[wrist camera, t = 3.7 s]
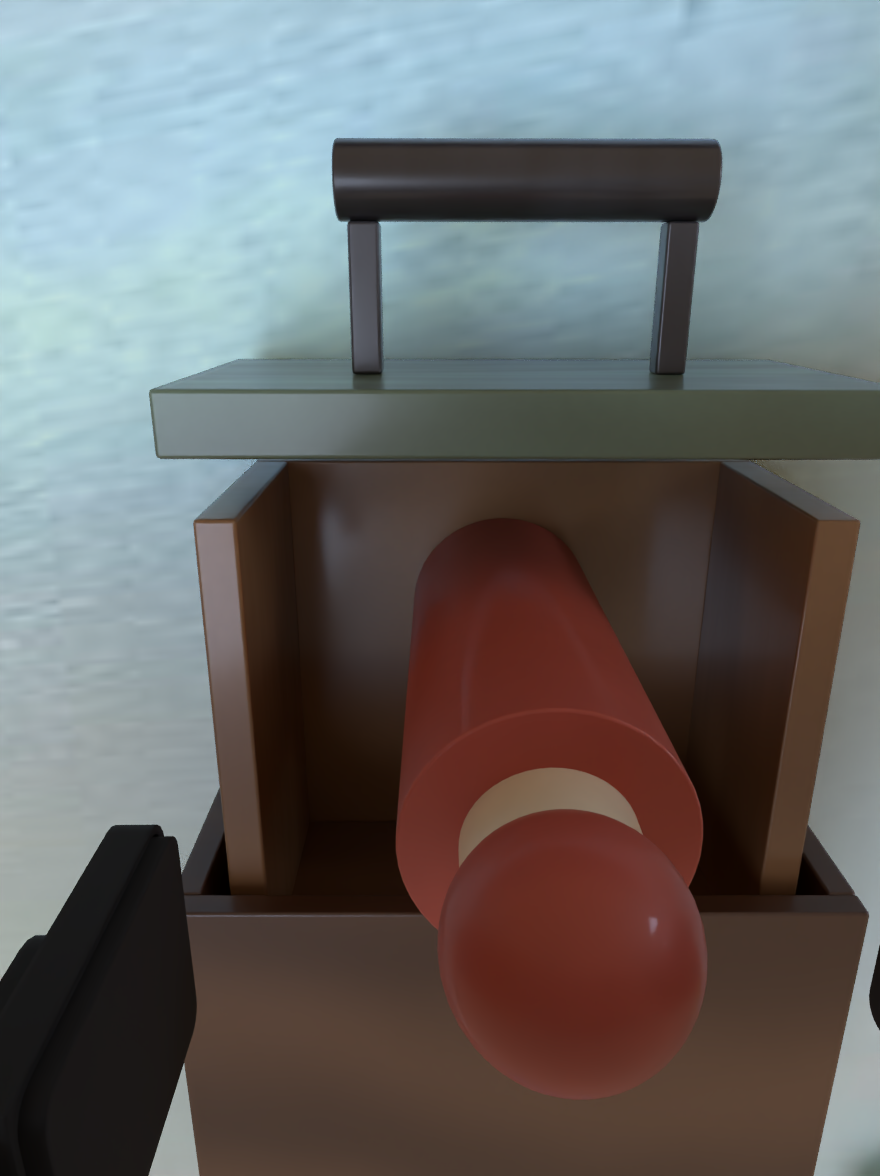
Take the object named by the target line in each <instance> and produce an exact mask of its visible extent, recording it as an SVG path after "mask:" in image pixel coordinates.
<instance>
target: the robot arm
mask: <svg viewBox="0 0 880 1176" xmlns="http://www.w3.org/2000/svg"><path fill="white" fill-rule="evenodd" d="M869 1001H870V1008H871V1012H872V1015H873V1018H874V1021H875V1023H876V1025H877V1026H878V1028H879V1030H880V946H879V951H878V955H877V960H876V965H875V969H874V974H873V978H872V983H871V987H870V994H869ZM196 1014H197V997H196V989H195V981H194V973H193V965H192V956H191V948H190V940H189V932H188V924H187V915H186V907H185V899H184V891H183V883H182V874H181V866H180V858H179V850H178V844H177V840H176V838H175V837H173V836H165V837H164V835H163V831H162V829H161V827H160V826H159V825H115V826H112V827H111V828H110V829H109V831H108V832H107V834H106V835H105V837H104V839H103V840H102V842H101V844H100V845H99V847H98V849H97V850H96V852H95V854H94V856H93V857H92V859H91V861H90V862H89V864H88V866H87V867H86V869H85V871H84V872H83V874H82V876H81V877H80V879H79V881H78V883H77V884H76V886H75V888H74V889H73V891H72V893H71V894H70V896H69V898H68V899H67V901H66V903H65V904H64V906H63V908H62V910H61V911H60V913H59V915H58V916H57V918H56V920H55V921H54V923H53V925H52V926H51V928H50V930H49V931H48V933H47V935H35V936H34V937H32V938H30V939H29V940H27V941H26V943H25V944H24V945H23V946H22V948H21V949H20V950H19V952H18V953H17V955H16V957H15V958H14V960H13V961H12V963H11V965H10V966H9V968H8V969H7V971H6V973H5V974H4V976H3V978H2V979H1V981H0V1176H148V1175H149V1172H150V1168H151V1165H152V1162H153V1159H154V1156H155V1153H156V1149H157V1146H158V1143H159V1140H160V1137H161V1134H162V1130H163V1127H164V1124H165V1121H166V1118H167V1115H168V1111H169V1108H170V1105H171V1102H172V1099H173V1095H174V1092H175V1089H176V1086H177V1083H178V1080H179V1076H180V1073H181V1070H182V1067H183V1064H184V1061H185V1057H186V1054H187V1051H188V1048H189V1045H190V1042H191V1038H192V1035H193V1032H194V1028H195V1022H196Z"/></svg>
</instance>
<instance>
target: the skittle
mask: <svg viewBox="0 0 880 1176" xmlns="http://www.w3.org/2000/svg"><path fill="white" fill-rule="evenodd" d="M702 842H703V819H702V812H701V806H700V802H699V799H698V796H697V793H696V790H695V788H694V786H693V784H692V782H691V780H690V778H689V776H688V774H687V772H686V770H685V768H684V766H683V764H682V763H681V761H680V759H679V757H678V755H677V753H676V751H675V749H674V747H673V745H672V743H671V741H670V739H669V737H668V735H667V733H666V731H665V730H664V728H663V726H662V724H661V722H660V720H659V718H658V716H657V714H656V712H655V710H654V708H653V706H652V704H651V702H650V700H649V698H648V697H647V695H646V693H645V691H644V689H643V687H642V685H641V683H640V681H639V679H638V677H637V675H636V673H635V671H634V669H633V667H632V665H631V664H630V662H629V660H628V658H627V656H626V654H625V652H624V650H623V648H622V646H621V644H620V642H619V640H618V638H617V636H616V634H615V632H614V631H613V629H612V627H611V625H610V623H609V621H608V619H607V617H606V615H605V613H604V611H603V609H602V607H601V605H600V603H599V601H598V599H597V598H596V596H595V594H594V592H593V590H592V588H591V586H590V584H589V582H588V580H587V578H586V576H585V574H584V572H583V570H582V568H581V566H580V565H579V563H578V561H577V559H576V557H575V556H574V554H573V553H572V551H571V550H570V549H569V548H568V547H567V545H566V544H565V543H564V542H563V541H562V540H560V539H559V538H558V537H557V536H555V535H554V534H553V533H551V532H550V531H548V530H546V529H545V528H543V527H540V526H538V525H536V524H533V523H530V522H526V521H523V520H517V519H508V518H497V519H488V520H483V521H479V522H475V523H472V524H470V525H467V526H465V527H463V528H461V529H459V530H457V531H455V532H454V533H452V534H451V535H449V536H448V537H446V538H445V539H444V540H443V541H442V542H441V543H440V544H439V545H437V546H436V548H435V549H434V550H433V551H432V552H431V554H430V555H429V556H428V558H427V560H426V561H425V563H424V565H423V567H422V569H421V571H420V573H419V576H418V580H417V583H416V588H415V595H414V607H413V620H412V633H411V645H410V658H409V671H408V684H407V697H406V709H405V722H404V735H403V748H402V761H401V773H400V786H399V799H398V812H397V825H396V855H397V862H398V867H399V871H400V874H401V877H402V880H403V883H404V885H405V887H406V889H407V891H408V893H409V895H410V897H411V899H412V900H413V902H414V903H415V905H416V906H417V908H418V909H419V911H420V912H421V913H422V914H423V916H424V917H425V918H426V919H427V920H428V921H429V922H430V923H431V924H432V925H433V926H434V927H435V928H436V929H437V930H438V944H437V952H438V963H439V970H440V977H441V981H442V985H443V988H444V992H445V995H446V998H447V1001H448V1004H449V1006H450V1008H451V1010H452V1013H453V1015H454V1017H455V1019H456V1021H457V1023H458V1025H459V1027H460V1028H461V1030H462V1031H463V1032H464V1034H465V1035H466V1037H467V1038H468V1040H469V1041H470V1042H471V1044H472V1045H473V1047H474V1048H475V1049H476V1050H477V1051H478V1052H479V1053H480V1054H481V1055H482V1056H483V1058H484V1059H486V1060H487V1061H488V1062H489V1063H490V1064H491V1065H492V1066H493V1067H494V1068H496V1069H497V1070H498V1071H499V1072H501V1073H502V1074H503V1075H505V1076H507V1077H508V1078H510V1079H511V1080H513V1081H515V1082H516V1083H518V1084H520V1085H522V1086H524V1087H526V1088H528V1089H530V1090H532V1091H535V1092H538V1093H541V1094H544V1095H549V1096H553V1097H558V1098H563V1099H572V1100H590V1099H599V1098H605V1097H610V1096H613V1095H617V1094H620V1093H623V1092H625V1091H628V1090H630V1089H632V1088H634V1087H636V1086H638V1085H640V1084H642V1083H643V1082H645V1081H647V1080H648V1079H650V1078H651V1077H653V1076H654V1075H656V1074H657V1073H658V1072H659V1071H660V1070H662V1069H663V1068H664V1067H665V1066H666V1065H667V1064H668V1063H669V1062H670V1061H671V1060H672V1058H673V1057H674V1056H675V1055H676V1054H677V1053H678V1051H679V1050H680V1049H681V1047H682V1046H683V1044H684V1043H685V1042H686V1040H687V1038H688V1036H689V1034H690V1032H691V1031H692V1029H693V1026H694V1024H695V1022H696V1020H697V1018H698V1015H699V1012H700V1009H701V1006H702V1002H703V998H704V994H705V988H706V982H707V967H708V957H707V946H706V938H705V933H704V927H703V923H702V920H701V917H700V914H699V911H698V908H697V905H696V902H695V899H694V898H693V896H692V894H691V892H690V890H689V888H688V887H689V885H690V883H691V881H692V879H693V877H694V875H695V872H696V869H697V866H698V863H699V859H700V855H701V849H702Z"/></svg>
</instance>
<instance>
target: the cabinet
mask: <svg viewBox="0 0 880 1176" xmlns="http://www.w3.org/2000/svg"><path fill="white" fill-rule="evenodd" d="M182 883H183V891H184V899H185V907H186V915H187V924H188V932H189V940H190V948H191V956H192V965H193V973H194V981H195V989H196V997H197V1014H196V1022H195V1028H194V1032H193V1035H192V1038H191V1042H190V1045H189V1048H188V1051H187V1054H186V1057H185V1061H184V1063H185V1071H186V1078H187V1086H188V1093H189V1101H190V1108H191V1115H192V1123H193V1130H194V1138H195V1145H196V1152H197V1160H198V1167H199V1175H200V1176H813V1175H814V1170H815V1166H816V1161H817V1156H818V1152H819V1147H820V1142H821V1138H822V1133H823V1128H824V1124H825V1119H826V1114H827V1110H828V1105H829V1100H830V1096H831V1091H832V1086H833V1082H834V1077H835V1072H836V1068H837V1063H838V1058H839V1054H840V1049H841V1044H842V1040H843V1035H844V1030H845V1026H846V1021H847V1016H848V1012H849V1007H850V1002H851V998H852V993H853V988H854V984H855V979H856V974H857V970H858V965H859V960H860V956H861V951H862V946H863V942H864V937H865V932H866V927H867V923H868V918H869V913H868V911H867V910H866V908H865V907H864V905H863V904H862V903H861V901H860V900H859V898H858V897H857V896H855V893H854V891H853V889H852V888H851V887H850V885H849V884H848V882H847V881H846V879H845V878H844V876H843V875H842V874H841V872H840V871H839V869H838V868H837V866H836V865H835V863H834V862H833V861H832V859H831V858H830V856H829V855H828V853H827V852H826V850H825V849H824V848H823V846H822V845H821V843H820V842H819V840H818V839H817V837H816V836H815V835H814V833H813V832H812V830H811V829H810V827H809V826H808V824H807V830H806V836H805V841H804V847H803V853H802V859H801V864H800V870H799V876H798V881H797V887H796V893H795V895H692V896H693V898H694V899H695V902H696V905H697V908H698V911H699V914H700V917H701V920H702V923H703V927H704V933H705V938H706V946H707V957H708V967H707V982H706V988H705V994H704V998H703V1002H702V1006H701V1009H700V1012H699V1015H698V1018H697V1020H696V1022H695V1024H694V1026H693V1029H692V1031H691V1032H690V1034H689V1036H688V1038H687V1040H686V1042H685V1043H684V1044H683V1046H682V1047H681V1049H680V1050H679V1051H678V1053H677V1054H676V1055H675V1056H674V1057H673V1058H672V1060H671V1061H670V1062H669V1063H668V1064H667V1065H666V1066H665V1067H664V1068H663V1069H662V1070H660V1071H659V1072H658V1073H657V1074H656V1075H654V1076H653V1077H651V1078H650V1079H648V1080H647V1081H645V1082H643V1083H642V1084H640V1085H638V1086H636V1087H634V1088H632V1089H630V1090H628V1091H625V1092H623V1093H620V1094H617V1095H613V1096H610V1097H605V1098H599V1099H590V1100H572V1099H563V1098H558V1097H553V1096H549V1095H544V1094H541V1093H538V1092H535V1091H532V1090H530V1089H528V1088H526V1087H524V1086H522V1085H520V1084H518V1083H516V1082H515V1081H513V1080H511V1079H510V1078H508V1077H507V1076H505V1075H503V1074H502V1073H501V1072H499V1071H498V1070H497V1069H496V1068H494V1067H493V1066H492V1065H491V1064H490V1063H489V1062H488V1061H487V1060H486V1059H484V1058H483V1056H482V1055H481V1054H480V1053H479V1052H478V1051H477V1050H476V1049H475V1048H474V1047H473V1045H472V1044H471V1042H470V1041H469V1040H468V1038H467V1037H466V1035H465V1034H464V1032H463V1031H462V1030H461V1028H460V1027H459V1025H458V1023H457V1021H456V1019H455V1017H454V1015H453V1013H452V1010H451V1008H450V1006H449V1004H448V1001H447V998H446V995H445V992H444V988H443V985H442V981H441V977H440V970H439V963H438V952H437V944H438V930H437V929H436V928H435V927H434V926H433V925H432V924H431V923H430V922H429V921H428V920H427V919H426V918H425V917H424V916H423V914H422V913H421V912H420V911H419V909H418V908H417V906H416V905H415V903H414V902H413V900H412V899H411V897H410V895H231V893H230V883H229V873H228V863H227V853H226V843H225V833H224V823H223V813H222V803H221V793H220V788H219V790H218V793H217V795H216V797H215V799H214V802H213V804H212V806H211V809H210V811H209V813H208V815H207V818H206V820H205V822H204V824H203V827H202V829H201V831H200V834H199V836H198V838H197V840H196V843H195V845H194V847H193V849H192V852H191V854H190V856H189V859H188V861H187V863H186V865H185V868H184V870H183V872H182Z"/></svg>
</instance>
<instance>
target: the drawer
mask: <svg viewBox="0 0 880 1176" xmlns="http://www.w3.org/2000/svg"><path fill="white" fill-rule="evenodd" d="M721 177H722V153H721V147H720V144H719V142H718V141H717V140H715V139H461V138H337V139H335V140H334V143H333V149H332V182H333V196H334V205H335V212H336V216H337V218H338V220H339V221H341V222H348V224H347V231H348V261H349V292H350V322H351V352H352V359H238V360H235V361H232V362H229V363H226V364H223V365H220V366H217V367H215V368H212V369H209V370H206V371H203V372H200V373H197V374H194V375H191V376H188V377H186V378H183V379H180V380H177V381H174V382H171V383H168V384H165V385H162V386H160V387H157V388H154V389H151V390H150V392H149V398H150V407H151V416H152V425H153V433H154V442H155V451H156V456H157V457H158V458H160V459H258V460H257V461H256V462H255V463H254V464H253V465H252V466H251V467H250V468H249V469H248V470H247V471H246V472H245V473H244V474H243V475H242V476H241V477H240V478H238V479H237V480H236V481H235V482H234V483H233V484H232V485H231V486H230V487H229V488H228V489H227V490H226V491H225V492H224V493H223V494H221V495H220V496H219V497H218V498H217V499H216V500H215V501H214V502H213V503H212V504H211V505H210V506H209V507H208V508H207V509H206V510H205V511H203V512H202V513H201V514H200V515H199V516H198V517H197V518H196V519H195V520H194V522H193V526H194V536H195V546H196V556H197V565H198V575H199V585H200V595H201V605H202V615H203V625H204V635H205V645H206V655H207V665H208V674H209V684H210V694H211V704H212V714H213V724H214V734H215V744H216V754H217V764H218V774H219V784H220V793H221V803H222V813H223V823H224V833H225V843H226V853H227V863H228V873H229V883H230V893H231V895H409V893H408V891H407V889H406V887H405V885H404V883H403V880H402V877H401V874H400V871H399V867H398V862H397V855H396V825H397V812H398V799H399V786H400V773H401V761H402V748H403V735H404V722H405V709H406V697H407V684H408V671H409V658H410V645H411V633H412V620H413V607H414V595H415V588H416V583H417V580H418V576H419V573H420V571H421V569H422V567H423V565H424V563H425V561H426V560H427V558H428V556H429V555H430V554H431V552H432V551H433V550H434V549H435V548H436V546H437V545H439V544H440V543H441V542H442V541H443V540H444V539H445V538H446V537H448V536H449V535H451V534H452V533H454V532H455V531H457V530H459V529H461V528H463V527H465V526H467V525H470V524H472V523H475V522H479V521H483V520H488V519H497V518H508V519H517V520H523V521H526V522H530V523H533V524H536V525H538V526H540V527H543V528H545V529H546V530H548V531H550V532H551V533H553V534H554V535H555V536H557V537H558V538H559V539H560V540H562V541H563V542H564V543H565V544H566V545H567V547H568V548H569V549H570V550H571V551H572V553H573V554H574V556H575V557H576V559H577V561H578V563H579V565H580V566H581V568H582V570H583V572H584V574H585V576H586V578H587V580H588V582H589V584H590V586H591V588H592V590H593V592H594V594H595V596H596V598H597V599H598V601H599V603H600V605H601V607H602V609H603V611H604V613H605V615H606V617H607V619H608V621H609V623H610V625H611V627H612V629H613V631H614V632H615V634H616V636H617V638H618V640H619V642H620V644H621V646H622V648H623V650H624V652H625V654H626V656H627V658H628V660H629V662H630V664H631V665H632V667H633V669H634V671H635V673H636V675H637V677H638V679H639V681H640V683H641V685H642V687H643V689H644V691H645V693H646V695H647V697H648V698H649V700H650V702H651V704H652V706H653V708H654V710H655V712H656V714H657V716H658V718H659V720H660V722H661V724H662V726H663V728H664V730H665V731H666V733H667V735H668V737H669V739H670V741H671V743H672V745H673V747H674V749H675V751H676V753H677V755H678V757H679V759H680V761H681V763H682V764H683V766H684V768H685V770H686V772H687V774H688V776H689V778H690V780H691V782H692V784H693V786H694V788H695V790H696V793H697V796H698V799H699V802H700V806H701V812H702V819H703V842H702V849H701V855H700V859H699V863H698V866H697V869H696V872H695V875H694V877H693V879H692V881H691V883H690V885H689V887H688V888H689V890H690V892H691V894H692V895H795V893H796V887H797V881H798V876H799V870H800V864H801V859H802V853H803V847H804V841H805V836H806V830H807V824H808V819H809V813H810V807H811V802H812V796H813V790H814V785H815V779H816V773H817V767H818V762H819V756H820V750H821V745H822V739H823V733H824V728H825V722H826V716H827V711H828V705H829V699H830V693H831V688H832V682H833V676H834V671H835V665H836V659H837V654H838V648H839V642H840V637H841V631H842V625H843V619H844V614H845V608H846V602H847V597H848V591H849V585H850V580H851V574H852V568H853V563H854V557H855V551H856V545H857V540H858V534H859V528H860V521H859V520H858V519H856V518H854V517H852V516H850V515H848V514H847V513H845V512H843V511H841V510H839V509H837V508H836V507H834V506H832V505H830V504H828V503H826V502H825V501H823V500H821V499H819V498H817V497H815V496H814V495H812V494H810V493H808V492H806V491H805V490H803V489H801V488H799V487H797V486H795V485H794V484H792V483H790V482H788V481H786V480H784V479H783V478H781V477H779V476H777V475H775V474H773V473H772V472H770V471H768V470H766V469H764V468H762V467H761V466H759V465H757V464H755V463H753V462H751V461H749V460H880V383H877V382H872V381H868V380H863V379H858V378H853V377H849V376H844V375H839V374H834V373H829V372H825V371H820V370H815V369H810V368H806V367H801V366H796V365H791V364H787V363H782V362H777V361H772V360H686V356H687V346H688V335H689V325H690V315H691V304H692V294H693V284H694V273H695V263H696V253H697V243H698V232H699V223H698V222H705V221H707V220H708V219H709V218H710V217H711V215H712V213H713V211H714V208H715V205H716V202H717V199H718V195H719V190H720V185H721ZM379 222H667V223H664V224H662V226H661V233H660V245H659V257H658V269H657V281H656V293H655V305H654V317H653V329H652V341H651V353H650V360H538V359H384V355H383V307H382V258H381V226H380V224H379Z"/></svg>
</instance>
